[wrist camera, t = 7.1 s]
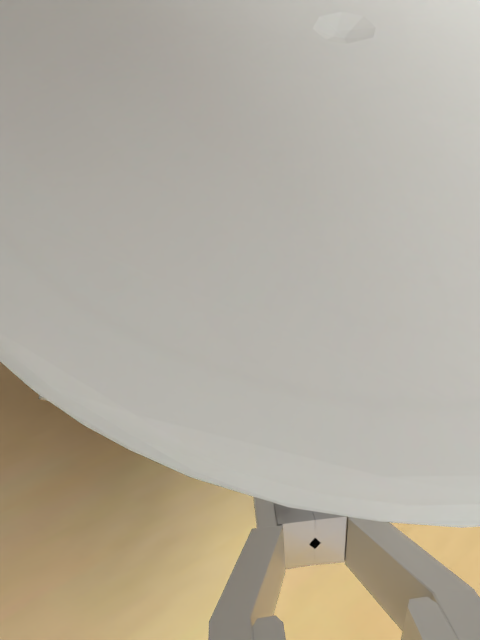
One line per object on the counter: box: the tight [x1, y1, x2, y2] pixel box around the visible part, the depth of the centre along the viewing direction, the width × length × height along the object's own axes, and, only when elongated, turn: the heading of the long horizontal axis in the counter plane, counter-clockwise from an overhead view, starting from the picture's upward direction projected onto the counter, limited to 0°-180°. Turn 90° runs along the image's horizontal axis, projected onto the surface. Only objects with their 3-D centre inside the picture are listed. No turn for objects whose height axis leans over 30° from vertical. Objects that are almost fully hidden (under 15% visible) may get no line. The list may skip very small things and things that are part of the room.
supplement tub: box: [0, 0, 480, 528], centre depth 10 cm, size 10×10×15 cm
